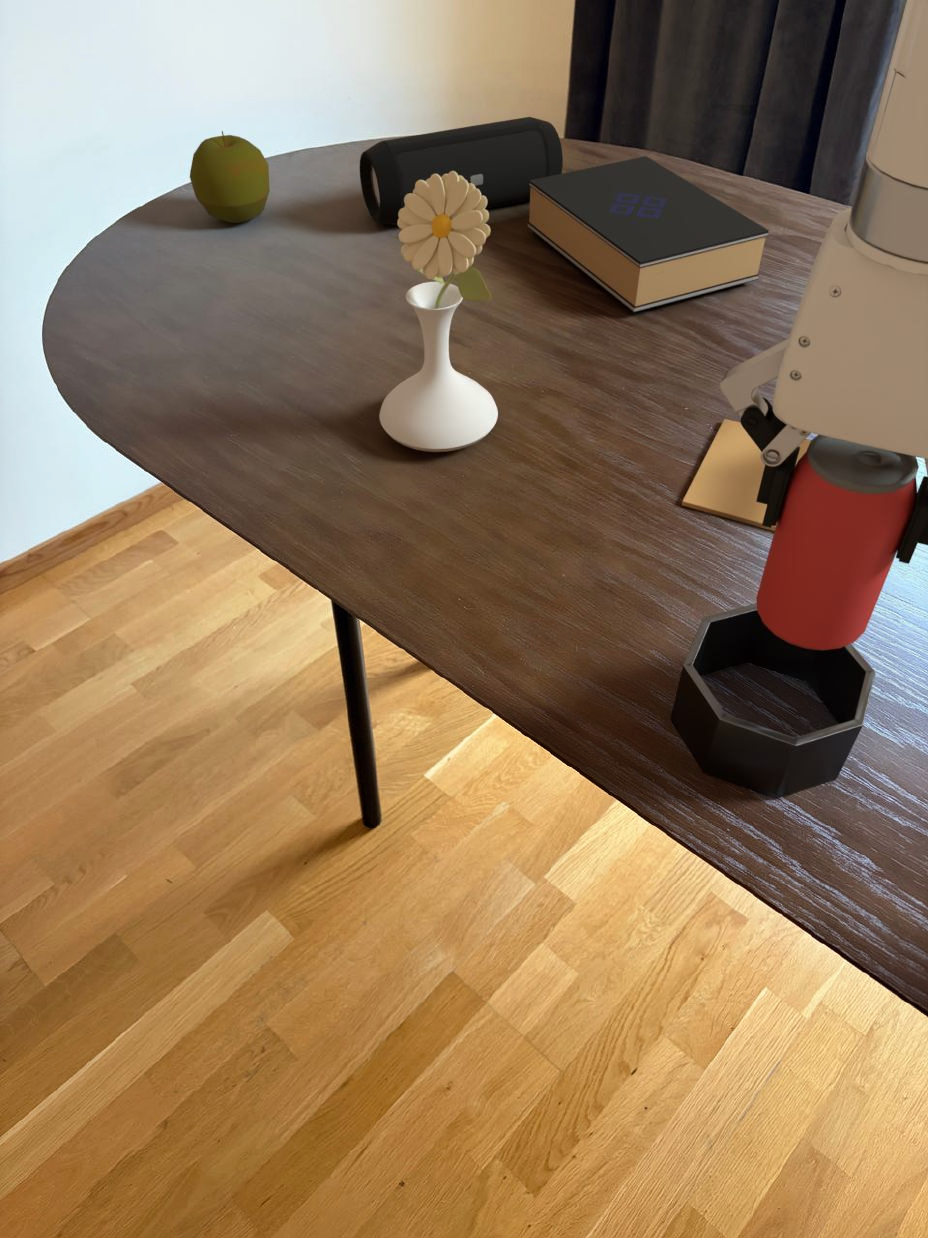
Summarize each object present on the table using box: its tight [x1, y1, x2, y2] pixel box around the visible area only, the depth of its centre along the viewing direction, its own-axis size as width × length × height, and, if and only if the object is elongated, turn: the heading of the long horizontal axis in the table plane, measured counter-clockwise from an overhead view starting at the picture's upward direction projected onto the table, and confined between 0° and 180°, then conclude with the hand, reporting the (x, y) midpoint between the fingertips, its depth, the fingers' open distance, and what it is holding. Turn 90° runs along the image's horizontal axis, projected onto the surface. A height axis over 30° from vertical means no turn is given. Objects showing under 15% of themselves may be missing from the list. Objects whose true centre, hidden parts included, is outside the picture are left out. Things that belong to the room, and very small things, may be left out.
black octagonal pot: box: [669, 602, 876, 800], centre depth 64 cm, size 12×12×6 cm
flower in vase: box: [378, 171, 499, 453], centre depth 82 cm, size 13×11×25 cm
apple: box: [189, 130, 271, 224], centre depth 121 cm, size 10×10×11 cm
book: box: [526, 155, 770, 313], centre depth 113 cm, size 17×25×7 cm
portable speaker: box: [359, 116, 564, 226], centre depth 123 cm, size 26×10×10 cm, turn 113°
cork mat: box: [681, 418, 812, 532], centre depth 85 cm, size 12×14×1 cm
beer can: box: [755, 434, 920, 650], centre depth 53 cm, size 7×7×12 cm
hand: (838, 527), depth 52 cm, fingers closed on beer can, 6 cm apart
